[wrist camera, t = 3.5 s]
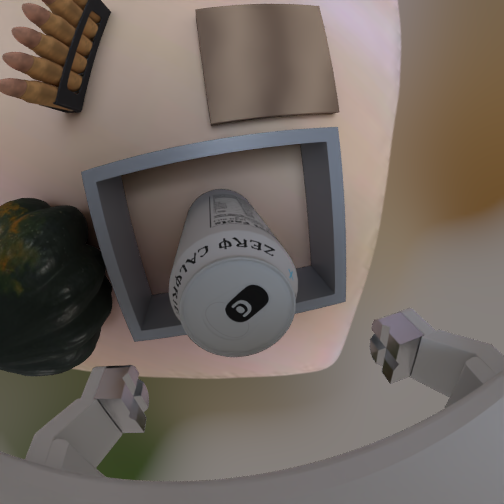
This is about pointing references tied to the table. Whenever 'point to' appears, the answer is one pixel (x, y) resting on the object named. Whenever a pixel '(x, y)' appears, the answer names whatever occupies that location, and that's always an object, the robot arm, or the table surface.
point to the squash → (48, 288)
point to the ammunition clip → (57, 53)
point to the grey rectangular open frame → (311, 140)
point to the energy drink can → (231, 278)
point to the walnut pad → (265, 62)
